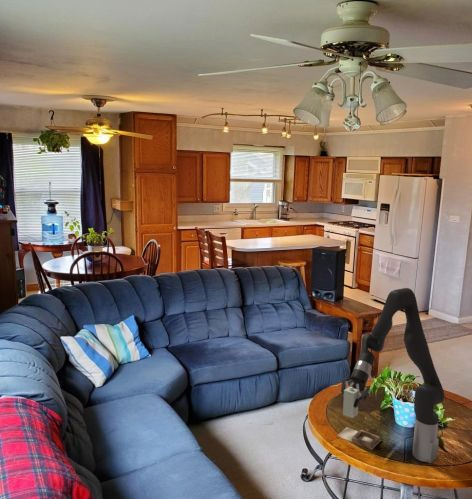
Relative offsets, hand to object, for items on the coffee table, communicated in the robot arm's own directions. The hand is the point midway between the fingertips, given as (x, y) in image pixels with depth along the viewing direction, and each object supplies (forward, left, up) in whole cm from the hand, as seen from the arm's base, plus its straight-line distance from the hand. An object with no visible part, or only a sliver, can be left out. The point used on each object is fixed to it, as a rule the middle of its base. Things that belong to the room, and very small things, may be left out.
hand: (349, 405), depth 209 cm
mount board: (-4, -3, -16) cm, 17 cm away
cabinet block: (0, -2, -5) cm, 6 cm away
